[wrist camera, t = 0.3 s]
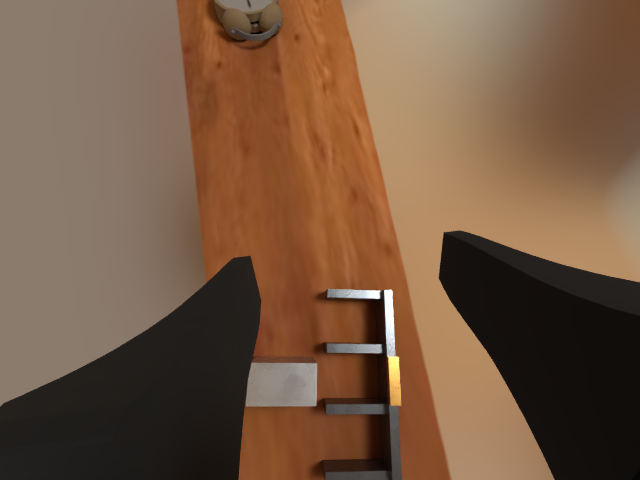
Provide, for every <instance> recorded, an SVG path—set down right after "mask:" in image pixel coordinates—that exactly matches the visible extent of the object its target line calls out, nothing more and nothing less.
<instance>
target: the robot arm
mask: <svg viewBox="0 0 640 480" xmlns="http://www.w3.org/2000/svg"><path fill="white" fill-rule="evenodd" d="M439 279H440V281H441V284H442V286H443V288H444V290H445V291H446V293H447V295H448V297H449V299H450V301H451V302H452V304H453V305H454V306H455V308H456V309H457V311H458V312H459V313H460V315H461V316H462V318H463V319H464V320H465V322H466V323H467V325H468V326H469V327H470V329H471V330H472V331H473V333H474V334H475V336H476V337H477V338H478V340H479V341H480V342H481V344H482V345H483V347H484V348H485V349H486V351H487V352H488V354H489V355H490V357H491V359H492V360H493V362H494V363H495V365H496V367H497V368H498V370H499V372H500V374H501V375H502V377H503V379H504V381H505V382H506V384H507V386H508V388H509V389H510V391H511V393H512V395H513V397H514V399H515V400H516V403H517V404H518V406H519V408H520V410H521V412H522V413H523V415H524V417H525V419H526V421H527V423H528V425H529V427H530V429H531V431H532V433H533V435H534V437H535V439H536V441H537V443H538V445H539V447H540V449H541V451H542V453H543V455H544V457H545V460H546V462H547V464H548V466H549V468H550V470H551V473H552V475H553V477H554V479H555V480H640V282H635V281H630V280H625V279H620V278H615V277H610V276H605V275H601V274H596V273H592V272H589V271H585V270H581V269H577V268H573V267H569V266H565V265H562V264H558V263H555V262H552V261H549V260H546V259H542V258H539V257H536V256H533V255H530V254H527V253H524V252H521V251H518V250H515V249H512V248H510V247H507V246H505V245H502V244H499V243H496V242H494V241H491V240H488V239H485V238H483V237H480V236H477V235H474V234H471V233H468V232H464V231H453V232H444V235H443V244H442V253H441V263H440V272H439ZM260 311H261V298H260V294H259V289H258V285H257V281H256V277H255V273H254V269H253V265H252V261H251V256H246V257H237V258H233V259H232V260H231V261H230V262H228V263H227V264H226V265H225V266H224V267H223V268H222V269H221V270H220V271H219V272H218V273H217V274H216V275H215V276H214V277H212V278H211V279H210V280H209V281H208V282H207V283H206V284H205V285H204V286H203V287H202V288H201V289H199V290H198V291H197V292H196V293H195V294H194V295H192V296H191V297H190V298H189V299H188V300H186V301H185V302H184V303H183V304H182V305H181V306H179V307H178V308H177V309H175V310H174V311H173V312H172V313H170V314H169V315H168V316H166V317H165V318H163V319H162V320H160V321H159V322H158V323H156V324H155V325H153V326H152V327H150V328H149V329H148V330H146V331H144V332H143V333H141V334H139V335H138V336H136V337H134V338H133V339H131V340H130V341H128V342H126V343H125V344H123V345H121V346H120V347H118V348H117V349H115V350H113V351H111V352H109V353H107V354H106V355H104V356H102V357H100V358H98V359H97V360H95V361H93V362H91V363H89V364H87V365H85V366H83V367H81V368H79V369H77V370H75V371H73V372H71V373H69V374H67V375H65V376H63V377H61V378H59V379H57V380H55V381H52V382H50V383H48V384H46V385H44V386H41V387H39V388H37V389H35V390H33V391H30V392H28V393H26V394H24V395H22V396H19V397H17V398H15V399H13V400H10V401H8V402H6V403H4V404H3V405H2V406H1V407H0V480H238V478H239V463H240V450H241V438H242V427H243V416H244V406H245V397H246V389H247V383H248V377H249V373H250V368H251V363H252V358H253V353H254V349H255V344H256V339H257V334H258V329H259V324H260Z"/></svg>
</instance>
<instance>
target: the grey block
mask: <svg viewBox="0 0 640 480" xmlns="http://www.w3.org/2000/svg"><path fill="white" fill-rule="evenodd" d="M316 398H317V362H316V361H315V360H314V358H313V357H287V356H256V357H255V358H254V359H253V360H252V363H251V368H250V373H249V377H248V385H247V397H246V406H316Z"/></svg>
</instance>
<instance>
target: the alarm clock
mask: <svg viewBox="0 0 640 480" xmlns="http://www.w3.org/2000/svg"><path fill="white" fill-rule="evenodd" d="M213 1H214V6H215V10H216V15H217V17H218V19H219V21H220V22H221V23H222V24H223V26H224V29H225V31H226V32H227V33H228V34H229V35H230V36H231V37H232V38H234V39H236V40H244V39H246V40H250V41H262V40H265V39H268V38H270V37H271V36H273V35H275V34H277V33H278V32H279V31H280V30H281V28H282V25H283V13H282V10H281V8H280V7H279V0H213ZM259 31H262V32H263V33H262V34H250V33H254V32H259Z"/></svg>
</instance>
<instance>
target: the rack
mask: <svg viewBox="0 0 640 480" xmlns="http://www.w3.org/2000/svg"><path fill="white" fill-rule="evenodd" d="M325 299H332V300H368V301H376V329H377V343H329V342H324V351H325V352H327V353H377V358H378V386H379V398H323V408H324V410H325V413H326V414H379V415H380V444H381V459H353V460H323V463H322V471H323V475H324V479H325V480H402V476H401V456H400V437H399V417H398V406H401V391H400V373H399V357H396V356H395V339H394V319H393V300H392V290H383V291H371V290H340V289H327V290H326V291H325Z"/></svg>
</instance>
